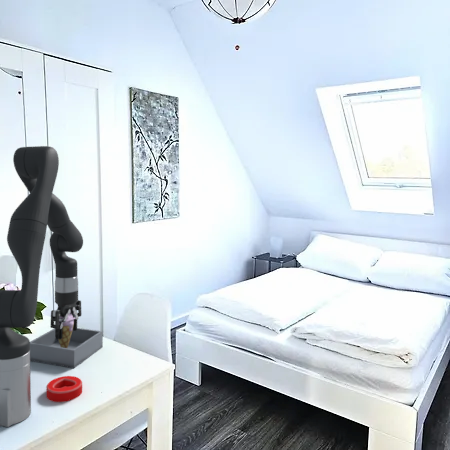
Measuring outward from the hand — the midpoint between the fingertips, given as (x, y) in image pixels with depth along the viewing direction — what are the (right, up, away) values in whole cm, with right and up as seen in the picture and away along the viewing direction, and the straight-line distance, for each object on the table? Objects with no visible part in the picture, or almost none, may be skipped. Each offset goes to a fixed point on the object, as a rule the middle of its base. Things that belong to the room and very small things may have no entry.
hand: (66, 334), depth 146 cm
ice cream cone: (-1, -6, 0) cm, 6 cm away
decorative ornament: (+9, -11, -25) cm, 28 cm away
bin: (0, -7, +1) cm, 7 cm away
